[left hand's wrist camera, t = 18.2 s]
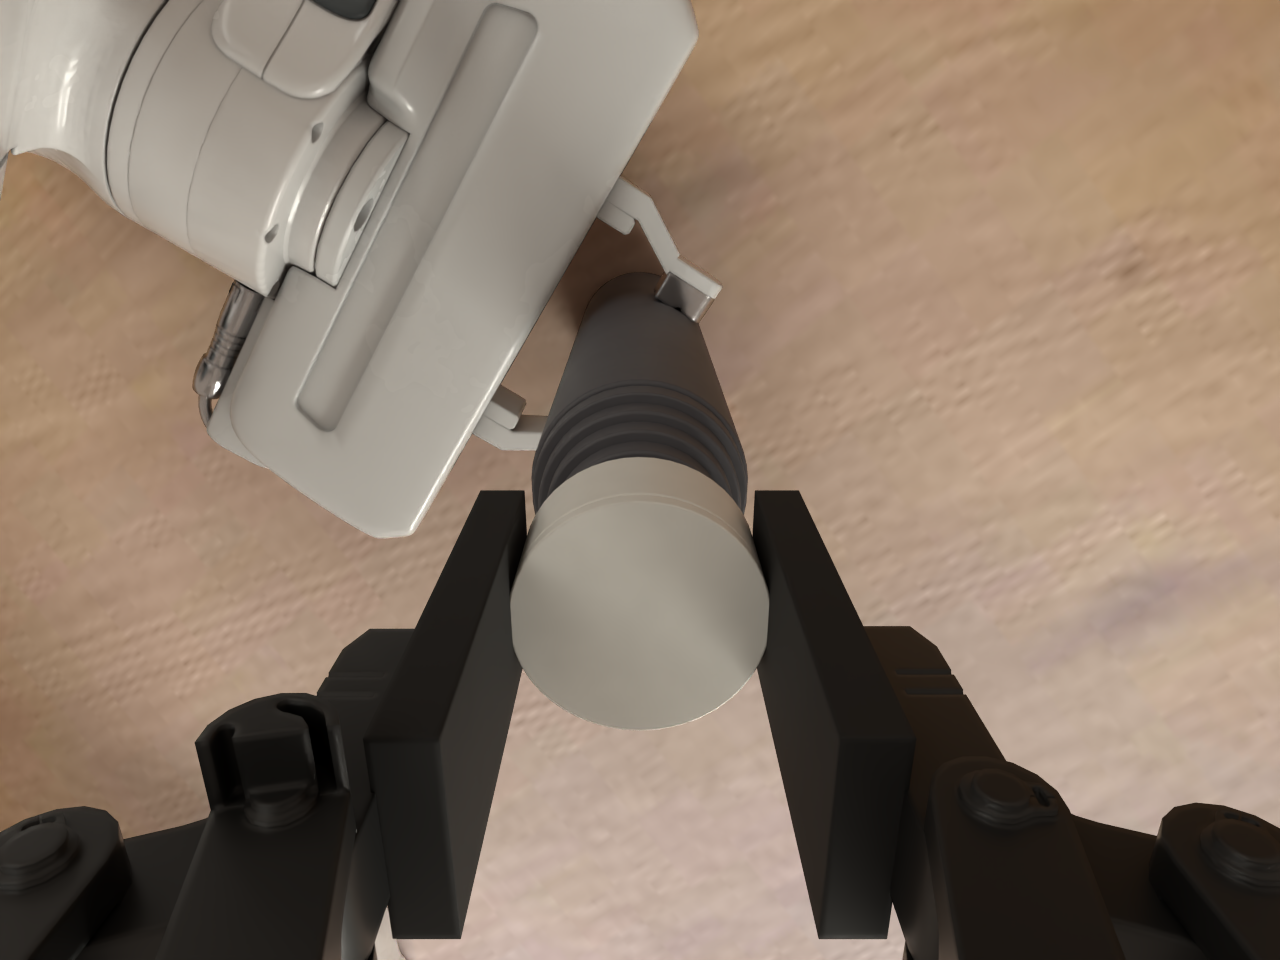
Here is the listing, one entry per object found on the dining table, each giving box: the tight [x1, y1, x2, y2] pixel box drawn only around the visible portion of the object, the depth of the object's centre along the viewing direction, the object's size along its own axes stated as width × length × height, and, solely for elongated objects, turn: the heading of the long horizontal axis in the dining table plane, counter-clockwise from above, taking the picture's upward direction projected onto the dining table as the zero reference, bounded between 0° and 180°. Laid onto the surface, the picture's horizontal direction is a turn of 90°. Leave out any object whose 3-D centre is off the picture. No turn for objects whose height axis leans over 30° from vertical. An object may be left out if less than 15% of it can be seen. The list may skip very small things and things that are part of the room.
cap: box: [510, 457, 769, 731], centre depth 14 cm, size 4×4×2 cm
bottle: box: [532, 272, 748, 515], centre depth 24 cm, size 5×5×22 cm
